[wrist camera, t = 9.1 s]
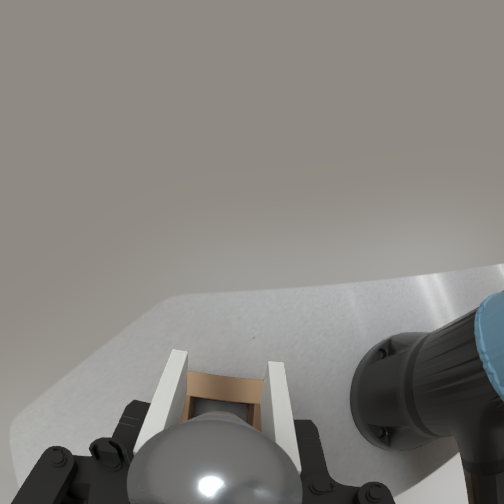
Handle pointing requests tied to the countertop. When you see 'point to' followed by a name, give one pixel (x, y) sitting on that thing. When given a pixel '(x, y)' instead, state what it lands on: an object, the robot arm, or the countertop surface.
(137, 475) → the silver metal peg
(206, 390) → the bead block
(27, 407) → the countertop surface
